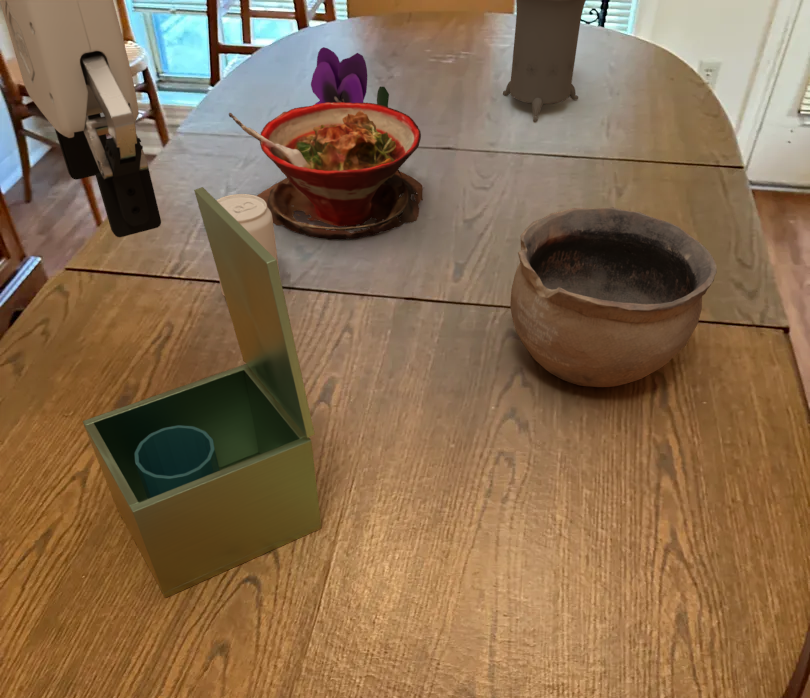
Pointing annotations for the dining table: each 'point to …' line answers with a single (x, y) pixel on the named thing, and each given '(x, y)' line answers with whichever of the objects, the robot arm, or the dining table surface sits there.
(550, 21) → the grey footed vase
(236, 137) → the dining table surface
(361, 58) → the flower
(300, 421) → the bin lid
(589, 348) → the ceramic bowl
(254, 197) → the beverage can
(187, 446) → the cup
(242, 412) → the bin
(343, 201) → the stew
